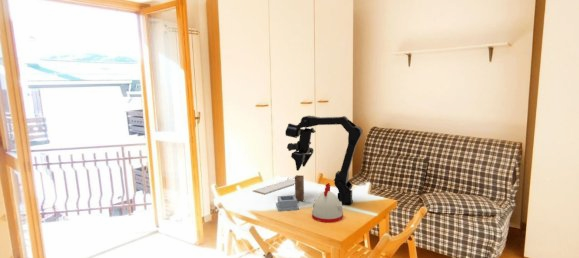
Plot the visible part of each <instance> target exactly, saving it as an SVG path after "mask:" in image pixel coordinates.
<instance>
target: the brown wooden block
mask: <svg viewBox="0 0 579 258" xmlns="http://www.w3.org/2000/svg"><path fill="white" fill-rule="evenodd" d="M294 180H295V185H294V195H295V197H296V199H297V202H299V201H301V203H304V201H305V187H304V186H305V184H304V175H301V174H300V175H299V174H297V175H295V176H294Z"/></svg>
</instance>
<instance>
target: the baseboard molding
mask: <svg viewBox="0 0 579 258" xmlns="http://www.w3.org/2000/svg"><path fill="white" fill-rule="evenodd" d="M294 184H295V177H292V178H290V179H289V177H288V178H287V179H285V180H283V181H282V180H281V181H279V182H276V183H271V184H269V185H265V186H263V187H260V188H257V189H253V190H252V192H253V193H257V194H261V195H268V194H271V193H273V192H276V191H280V190H283V189H286V188H289V187H291V186H295V185H294Z"/></svg>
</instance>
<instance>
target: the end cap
mask: <svg viewBox="0 0 579 258" xmlns="http://www.w3.org/2000/svg"><path fill="white" fill-rule="evenodd" d="M275 204H276V208H277V211H278V212H287V211H288V212H289V211H299V210H300V207H299V205H298V201H297V199H296V197H295V194H289V195H278V196H277V202H275Z"/></svg>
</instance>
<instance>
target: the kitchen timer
mask: <svg viewBox="0 0 579 258" xmlns="http://www.w3.org/2000/svg"><path fill="white" fill-rule="evenodd" d="M311 218H312V219H313V220H314V221H316V222H320V223H324V224H325V223H328V224H329V223H336V222H337V223H338V222H340V221H342V220H343V218H344V211H343V204H342V202H340V201H339V199H338V195H336V194H335V193H334V192H332V191H331V183H329V182H327V183H326V184H325V188H324V190H323V191H322V192H320V193H319V195H318V196H317V197H316V198H315V199H314V202H313V203H312V210H311Z"/></svg>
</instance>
